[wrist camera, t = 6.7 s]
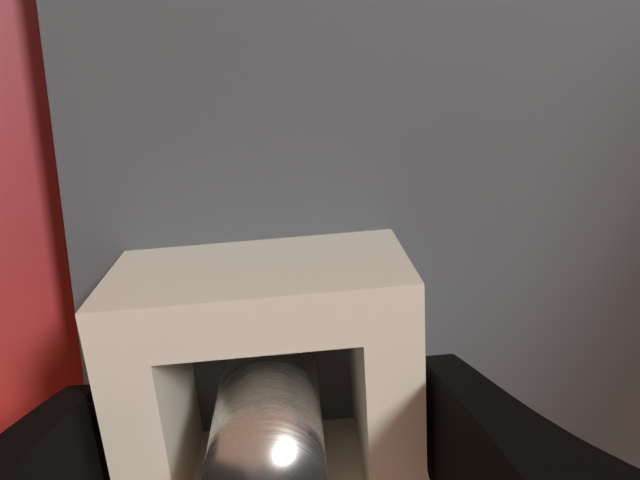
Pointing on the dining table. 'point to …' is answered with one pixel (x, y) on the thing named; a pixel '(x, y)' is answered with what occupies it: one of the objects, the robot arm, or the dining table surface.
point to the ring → (258, 346)
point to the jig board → (379, 167)
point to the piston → (267, 421)
